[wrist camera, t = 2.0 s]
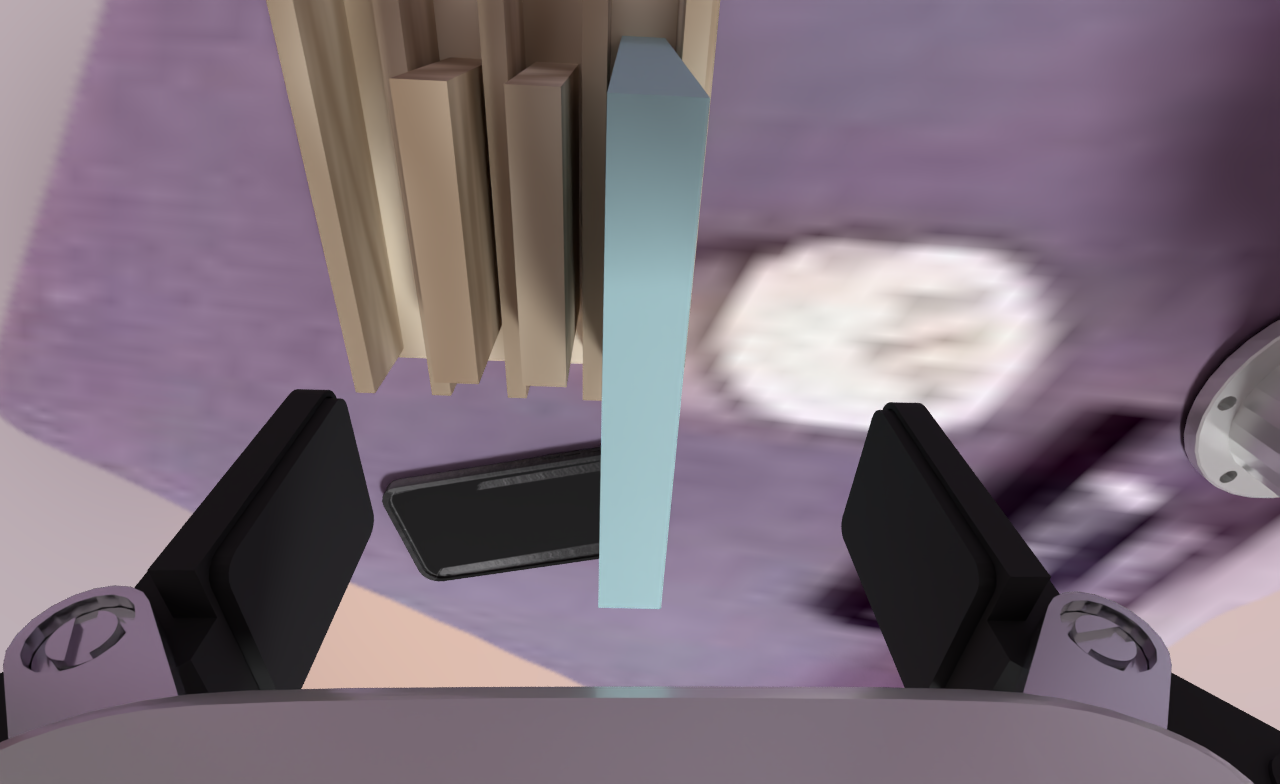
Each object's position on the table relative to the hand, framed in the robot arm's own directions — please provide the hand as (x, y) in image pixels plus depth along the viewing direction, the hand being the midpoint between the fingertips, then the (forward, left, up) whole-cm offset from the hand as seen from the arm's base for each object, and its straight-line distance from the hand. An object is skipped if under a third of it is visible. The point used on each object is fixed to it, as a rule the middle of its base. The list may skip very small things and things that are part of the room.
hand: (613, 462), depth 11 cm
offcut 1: (+6, 0, -18) cm, 19 cm away
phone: (+5, +19, -20) cm, 28 cm away
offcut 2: (+3, 0, -18) cm, 18 cm away
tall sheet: (-1, 0, -18) cm, 18 cm away
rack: (+4, 0, -19) cm, 19 cm away
